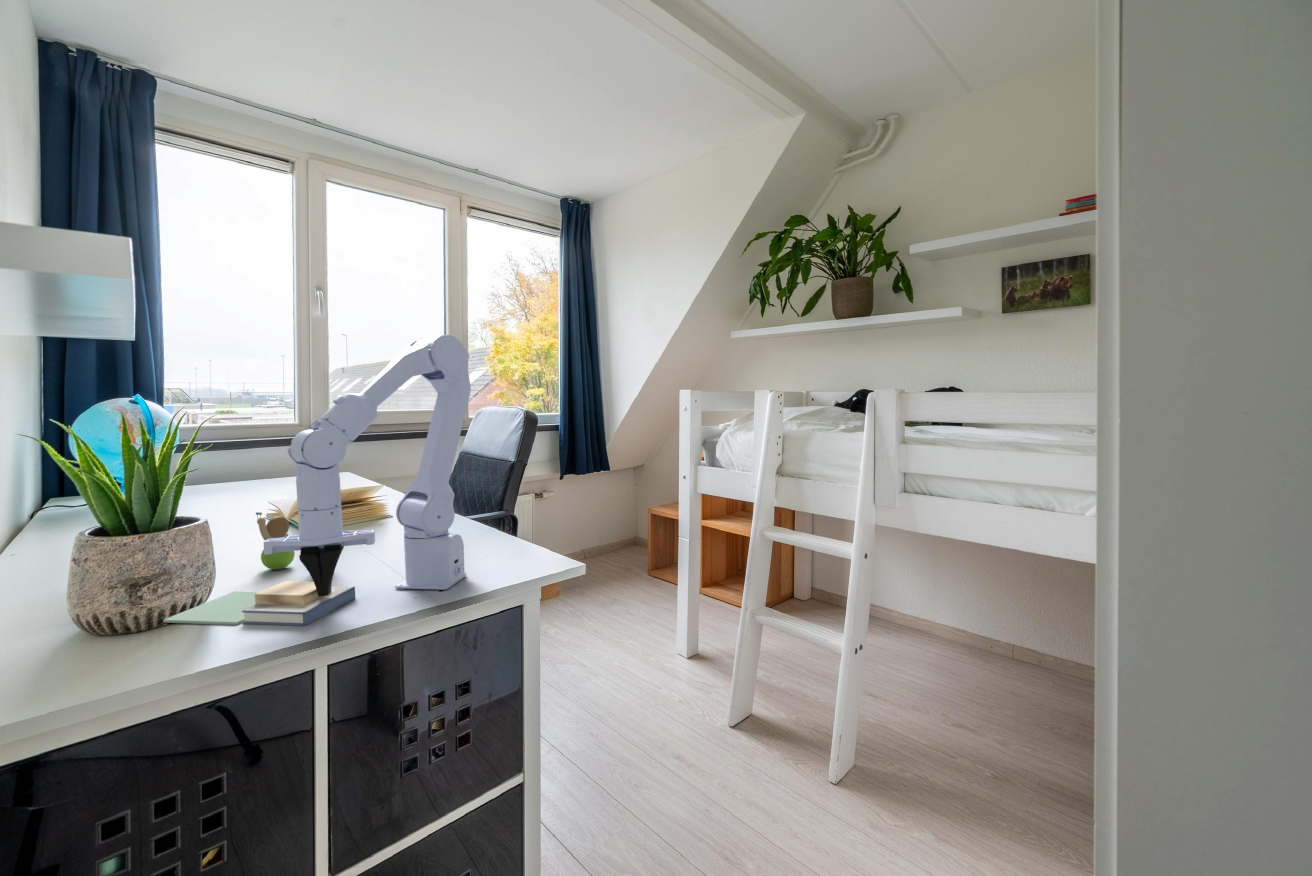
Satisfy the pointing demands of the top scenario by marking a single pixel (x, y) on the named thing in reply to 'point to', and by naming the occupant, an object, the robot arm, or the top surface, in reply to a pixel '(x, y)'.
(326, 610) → the notebook
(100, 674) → the top surface
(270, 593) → the tile
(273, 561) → the snail figurine
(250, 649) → the top surface
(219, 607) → the mat
